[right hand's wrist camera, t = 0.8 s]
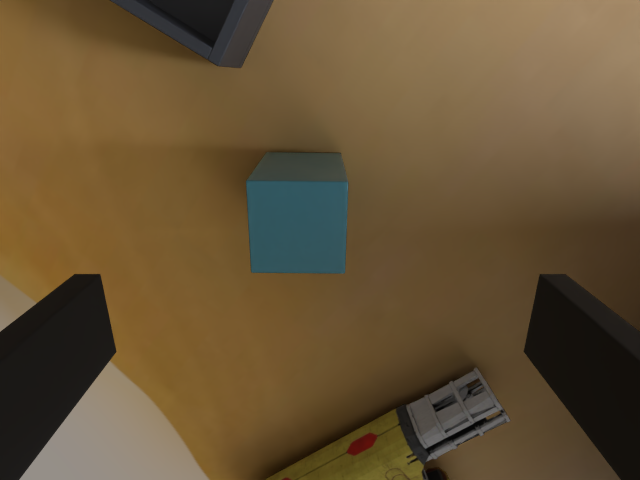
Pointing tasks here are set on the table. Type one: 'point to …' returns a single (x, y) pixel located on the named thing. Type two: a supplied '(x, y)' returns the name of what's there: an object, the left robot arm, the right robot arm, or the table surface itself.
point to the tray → (205, 25)
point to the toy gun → (406, 437)
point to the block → (298, 213)
